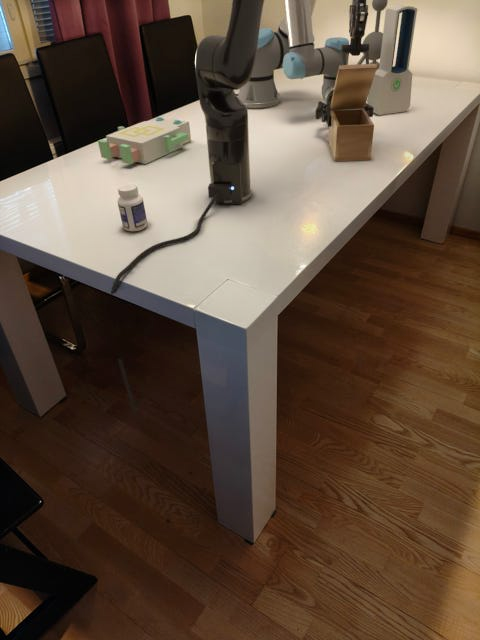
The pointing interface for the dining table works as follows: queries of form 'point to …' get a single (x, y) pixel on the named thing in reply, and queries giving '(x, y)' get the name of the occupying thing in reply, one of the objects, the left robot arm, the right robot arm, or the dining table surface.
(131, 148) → the decorative block
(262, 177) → the dining table surface
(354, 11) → the left robot arm
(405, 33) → the electronic device
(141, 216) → the pill bottle
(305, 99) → the dining table surface
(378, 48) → the molecular model
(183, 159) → the dining table surface
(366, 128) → the chest
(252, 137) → the dining table surface
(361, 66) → the lid
